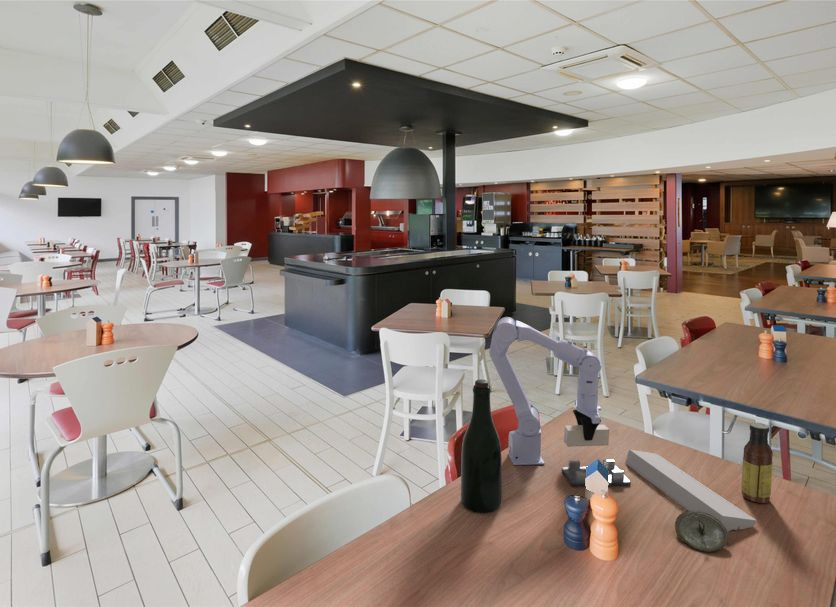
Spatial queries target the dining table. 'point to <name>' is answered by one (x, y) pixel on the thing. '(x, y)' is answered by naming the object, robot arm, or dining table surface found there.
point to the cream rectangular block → (576, 436)
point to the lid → (701, 531)
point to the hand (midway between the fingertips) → (585, 436)
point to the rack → (578, 474)
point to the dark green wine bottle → (481, 456)
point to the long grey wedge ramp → (687, 490)
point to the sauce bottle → (757, 465)
